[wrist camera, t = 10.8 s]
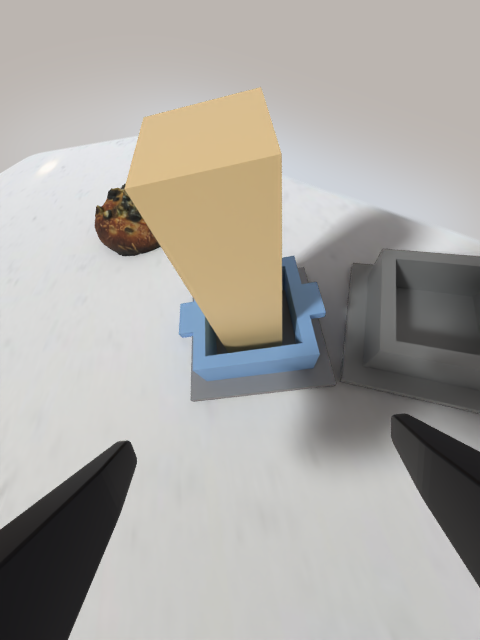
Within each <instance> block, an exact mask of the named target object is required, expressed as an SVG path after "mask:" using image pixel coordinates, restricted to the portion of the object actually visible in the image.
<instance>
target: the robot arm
mask: <svg viewBox="0 0 480 640" xmlns="http://www.w3.org/2000/svg"><path fill="white" fill-rule="evenodd" d="M391 438H392V441H393V444H394V446H395V448H396V449H397V451H398V453H399V455H400V457H401V459H402V461H403V463H404V465H405V467H406V468H407V470H408V472H409V474H410V476H411V478H412V480H413V482H414V484H415V486H416V487H417V489H418V491H419V493H420V495H421V496H422V498H423V500H424V501H425V503H426V505H427V506H428V508H429V509H430V511H431V512H432V514H433V516H434V517H435V519H436V520H437V522H438V523H439V525H440V526H441V528H442V530H443V531H444V533H445V534H446V536H447V537H448V539H449V540H450V542H451V544H452V545H453V547H454V548H455V550H456V551H457V553H458V554H459V556H460V558H461V559H462V561H463V562H464V564H465V565H466V567H467V568H468V570H469V572H470V573H471V575H472V576H473V578H474V579H475V581H476V582H477V584H478V586H479V587H480V452H479V451H477V450H475V449H473V448H471V447H470V446H468V445H466V444H464V443H462V442H460V441H458V440H456V439H454V438H452V437H450V436H448V435H447V434H445V433H443V432H441V431H439V430H437V429H435V428H433V427H431V426H429V425H427V424H425V423H424V422H422V421H420V420H418V419H416V418H414V417H412V416H410V415H408V414H396V415H393V416H392V418H391ZM136 464H137V457H136V454H135V452H134V449H133V447H132V444H131V442H130V441H119V442H116V443H115V444H114V445H112V446H111V447H110V448H108V449H107V450H106V451H104V452H103V453H102V454H100V455H99V456H98V457H96V458H95V459H94V460H92V461H91V462H90V463H88V464H87V465H86V466H84V467H83V468H82V469H80V470H79V471H78V472H76V473H75V474H74V475H72V476H71V477H70V478H68V479H67V480H66V481H64V482H63V483H62V484H60V485H59V486H58V487H56V488H55V489H54V490H52V491H51V492H50V493H48V494H47V495H46V496H44V497H43V498H42V499H40V500H39V501H38V502H36V503H35V504H34V505H32V506H31V507H30V508H28V509H27V510H26V511H24V512H23V513H22V514H20V515H19V516H18V517H16V518H15V519H14V520H12V521H11V522H10V523H8V524H7V525H6V526H4V527H3V528H2V529H0V640H68V638H69V636H70V633H71V631H72V628H73V626H74V624H75V621H76V619H77V616H78V614H79V612H80V609H81V607H82V605H83V602H84V600H85V597H86V595H87V593H88V590H89V588H90V585H91V583H92V581H93V578H94V576H95V573H96V571H97V569H98V566H99V564H100V562H101V559H102V557H103V554H104V552H105V550H106V547H107V545H108V542H109V540H110V538H111V535H112V533H113V530H114V528H115V526H116V523H117V521H118V518H119V516H120V513H121V510H122V507H123V504H124V501H125V498H126V495H127V492H128V489H129V486H130V483H131V480H132V477H133V474H134V471H135V468H136Z"/></svg>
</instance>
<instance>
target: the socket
mask: <svg viewBox="0 0 480 640" xmlns="http://www.w3.org/2000/svg"><path fill="white" fill-rule="evenodd" d="M340 381H341V382H345V383H349V384H354V385H358V386H362V387H367V388H371V389H375V390H380V391H384V392H388V393H393V394H397V395H401V396H406V397H410V398H415V399H419V400H423V401H428V402H432V403H436V404H441V405H445V406H449V407H454V408H458V409H462V410H467V411H471V412H475V413H480V256H467V255H455V254H442V253H430V252H417V251H405V250H392V249H382V251H381V253H380V255H379V257H378V259H377V260H376V262H375V264H374V265H370V264H360V263H353V265H352V267H351V276H350V287H349V297H348V307H347V318H346V328H345V338H344V348H343V359H342V369H341V379H340Z"/></svg>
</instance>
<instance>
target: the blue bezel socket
mask: <svg viewBox="0 0 480 640" xmlns="http://www.w3.org/2000/svg"><path fill="white" fill-rule="evenodd" d="M325 314H326V311H325V308H324V305H323V301H322V298H321V295H320V291H319V288H318V285H317V282H312V283H308V280H307V276H306V273H305V269H304V267H302V268H297V264H296V261H295V257H294V256H290V257H284V258H282V346H278V347H271V348H263V349H256V350H248V351H241V352H234V353H228V352H227V350H226V348H225V347H224V345H223V344H222V342H221V341H220V339H219V337H218V336H217V334H216V333H215V331H214V330H213V328H212V326H211V325H210V323H209V322H208V320H207V318H206V317H205V315H204V314H203V312H202V311H201V309H200V307H199V306H198V304H197V303H196V301H195V300H194V298H193V302H189V303H183V304H180V324H179V335H180V336H181V337H182V338H184V337H191V336H192V364H191V401H193V402H195V401H204V400H213V399H221V398H230V397H239V396H248V395H256V394H265V393H274V392H283V391H292V390H300V389H309V388H318V387H327V386H335V385H336V381H335V377H334V373H333V370H332V366H331V363H330V359H329V356H328V352H327V348H326V345H325V341H324V338H323V334H322V330H321V327H320V323H319V320H318V318H321V317H324V316H325Z"/></svg>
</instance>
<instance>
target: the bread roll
mask: <svg viewBox="0 0 480 640" xmlns="http://www.w3.org/2000/svg"><path fill="white" fill-rule="evenodd" d="M125 185H126V184H124V185H122V188H121V189H120V188H115V189H112V188H111V190H110V191H109V192H108V196H107V200H106V202H105V203H104V205H103V206H102V207H100V206H98V205H97V207H96V214H95V217H96V218H95V229H96V232H97V234H98V237H99V239H100V240H101V242H102V243H103V244H104V245H106V246H107V247H108V248H110V249H112V250H113V251H115V252H117V253H118V254H119V255H122V256H135V255H137V253H146V252H148V251H151V250H153V249H156V248H158V247H159V246H160V244H159V243H158V241H157V240H156V238H155V236H154V235H153V233H152V232H151V230H150V229H149V227H148V225H147V224H146V222H145V221H144V219H143V218H142V216H141V214H140V213H139V211H138V210H137V208H136V206H135V205H134V203H133V202H132V200H131V199H130V197H129V195H128V194H127V192H126V191H125ZM160 247H161V246H160Z"/></svg>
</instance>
